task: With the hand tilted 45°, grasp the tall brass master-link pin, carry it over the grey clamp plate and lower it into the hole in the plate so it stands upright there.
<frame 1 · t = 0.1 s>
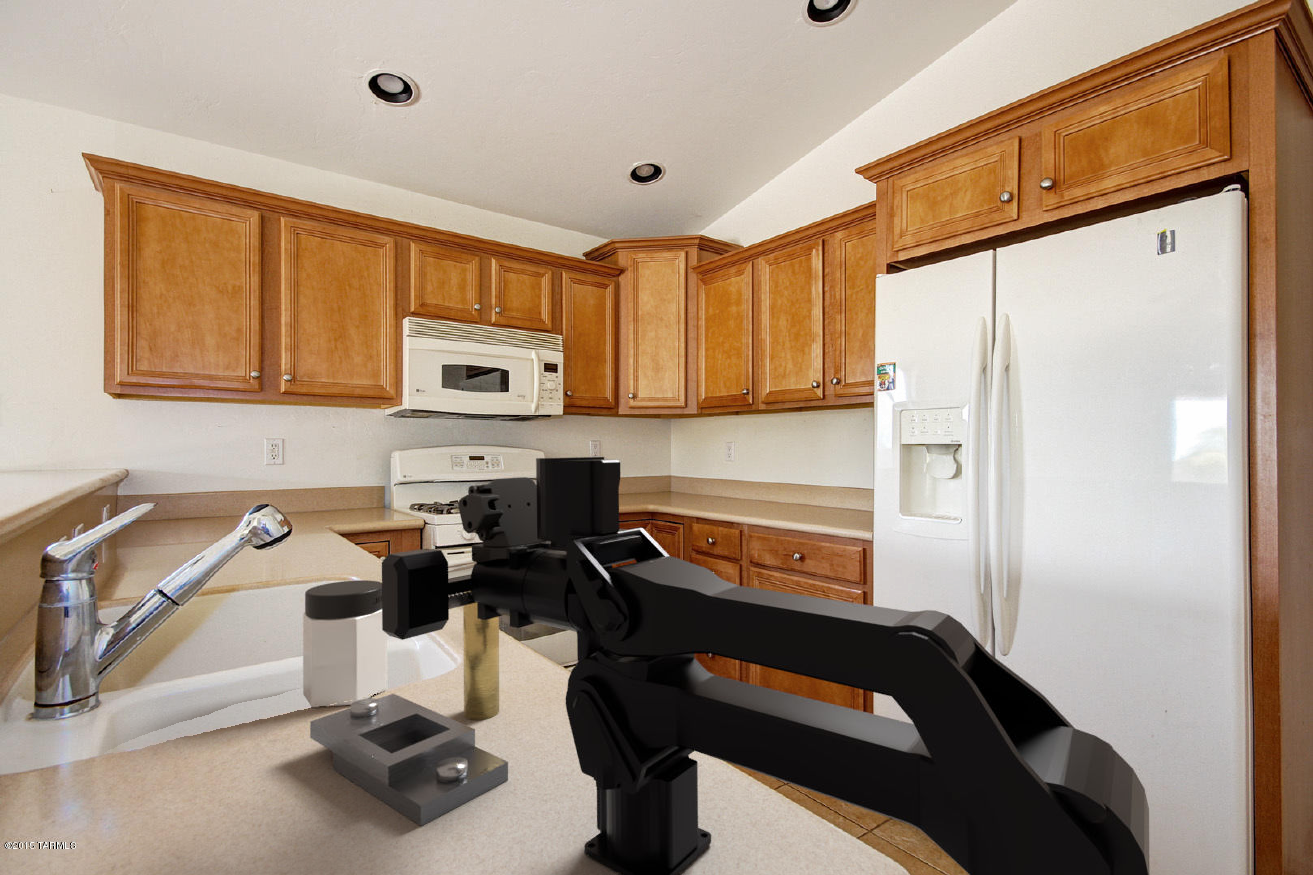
hand: (436, 567, 59), 17 cm above the counter, tool horizontal, fingers open, 9 cm apart
grey clamp plate: (404, 766, 55), on the counter
jar: (345, 694, 71), on the counter
pin: (481, 712, 66), on the counter
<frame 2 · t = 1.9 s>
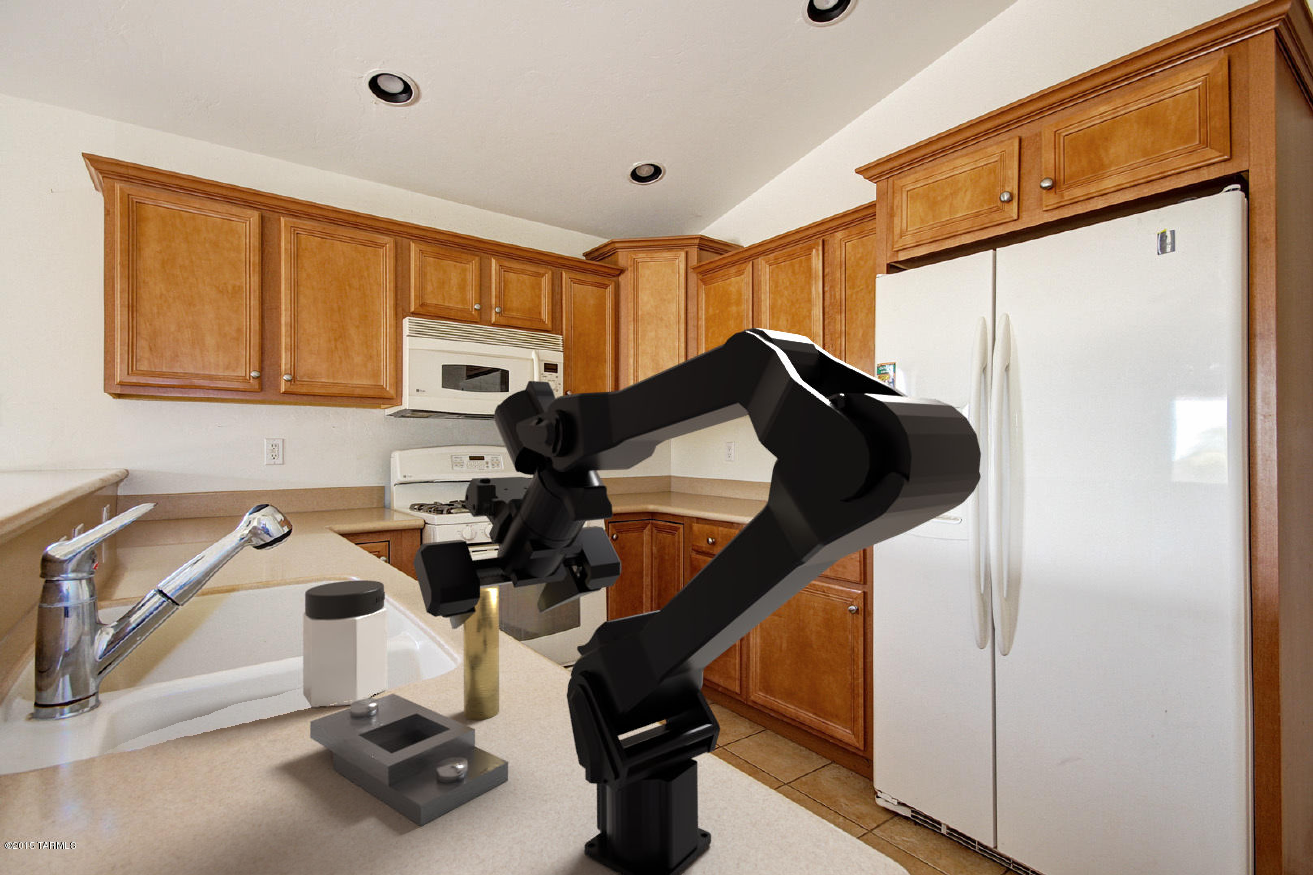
hand: (498, 616, 63), 11 cm above the counter, tool tilted 45°, fingers open, 9 cm apart
nothing on the counter moved.
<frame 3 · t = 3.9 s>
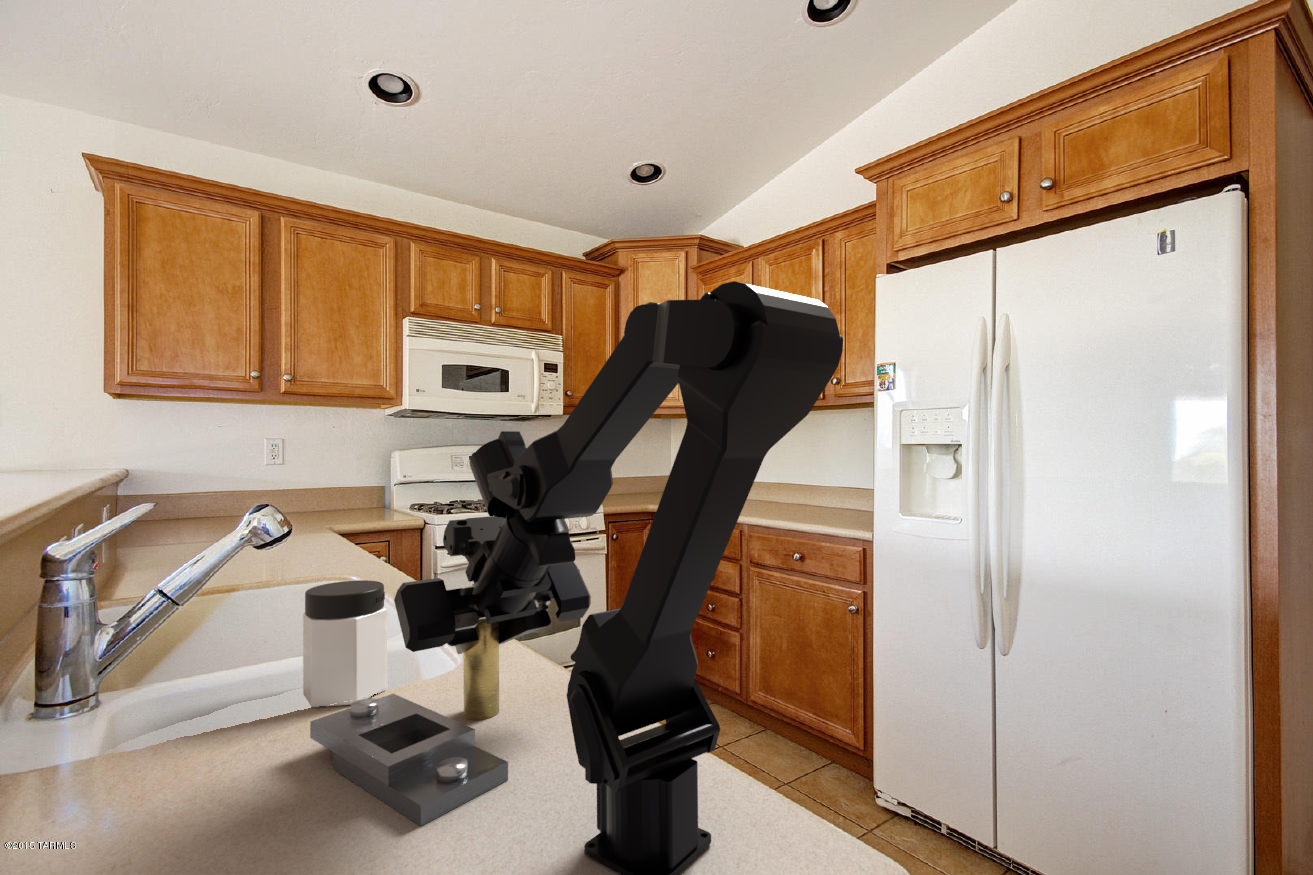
hand: (476, 645, 67), 7 cm above the counter, tool tilted 45°, fingers closed on pin, 4 cm apart
pin: (481, 712, 66), on the counter, touching gripper
everything else where it was.
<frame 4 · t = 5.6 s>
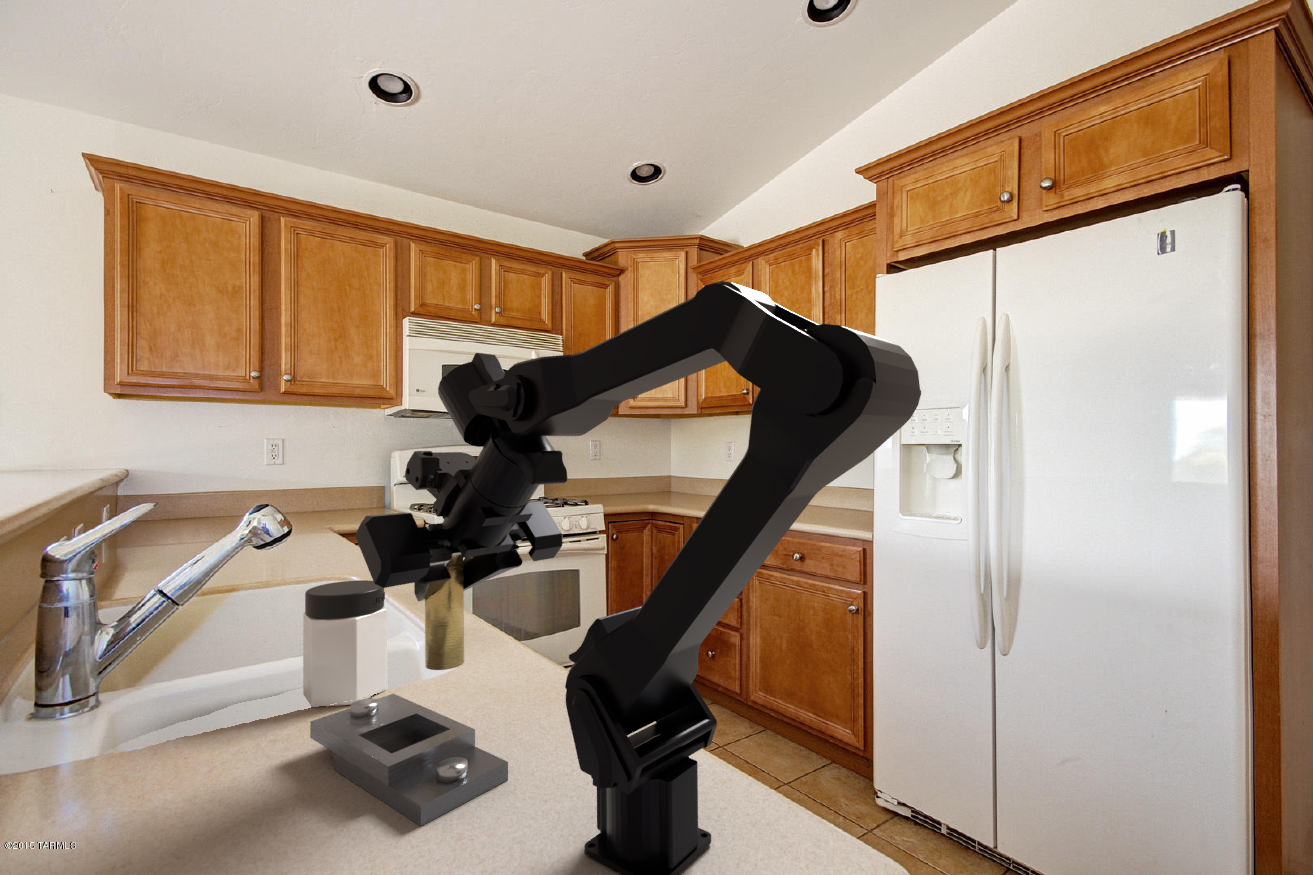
hand: (436, 593, 62), 13 cm above the counter, tool tilted 45°, fingers closed on pin, 4 cm apart
pin: (445, 663, 61), point 7 cm above the counter, touching gripper
everything else where it was.
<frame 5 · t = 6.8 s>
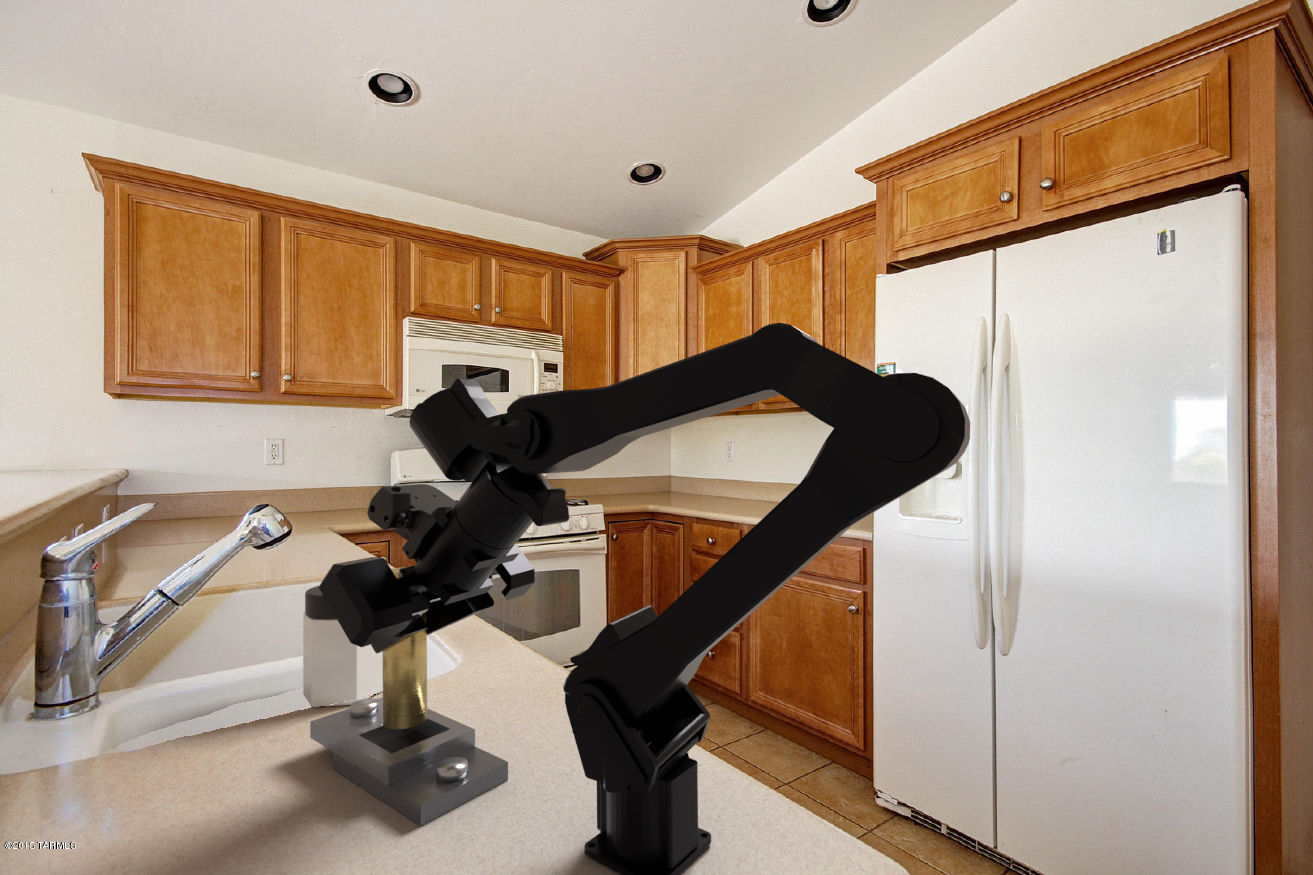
hand: (394, 642, 55), 11 cm above the counter, tool tilted 45°, fingers closed on pin, 4 cm apart
pin: (405, 719, 55), point 4 cm above the counter, touching gripper
everything else where it was.
when the fingers open (8 cm above the counter, at t = 7.6 s): pin drops 1 cm, resting in grey clamp plate.
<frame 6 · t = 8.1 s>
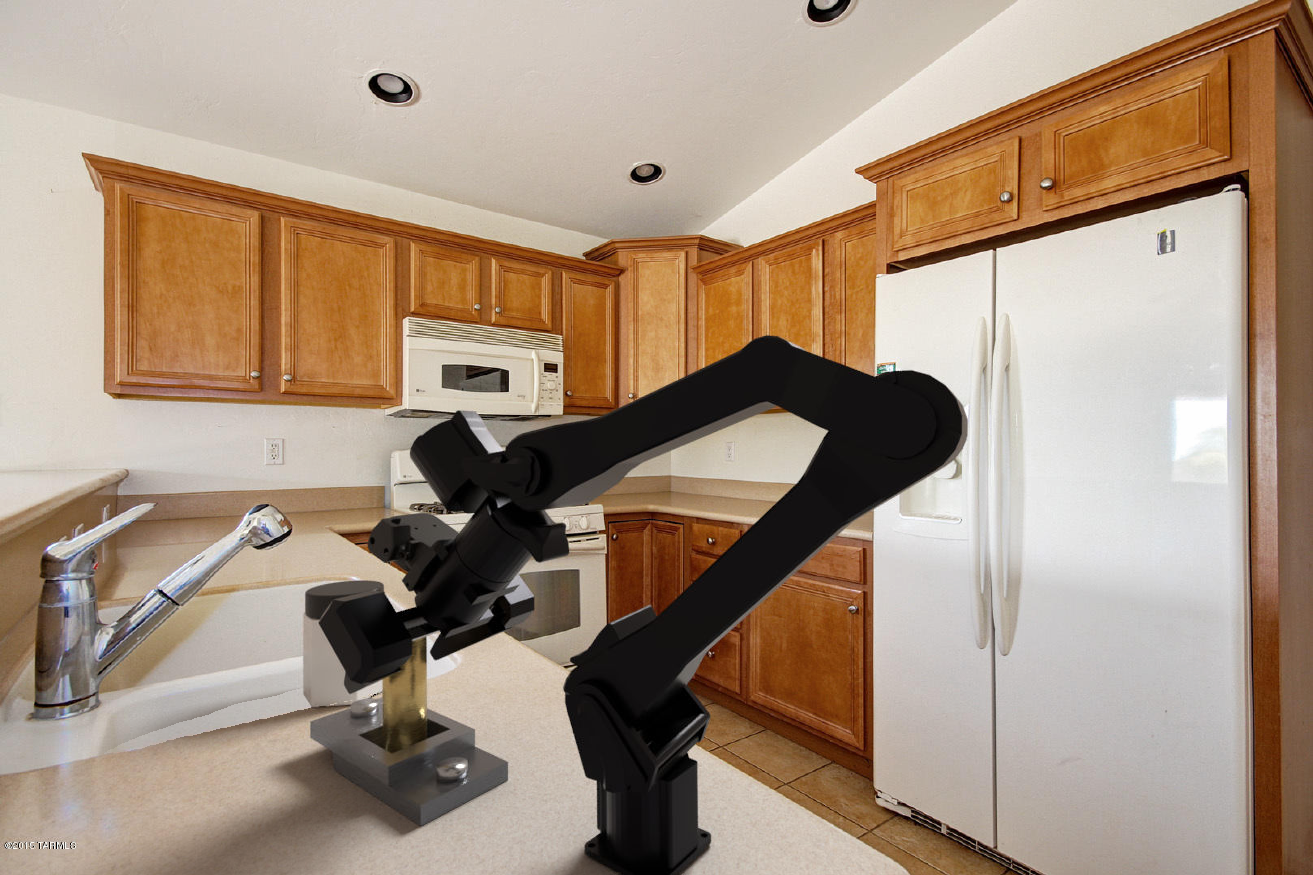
hand: (393, 671, 55), 8 cm above the counter, tool tilted 45°, fingers open, 9 cm apart
pin: (405, 766, 55), resting in grey clamp plate
everything else where it was.
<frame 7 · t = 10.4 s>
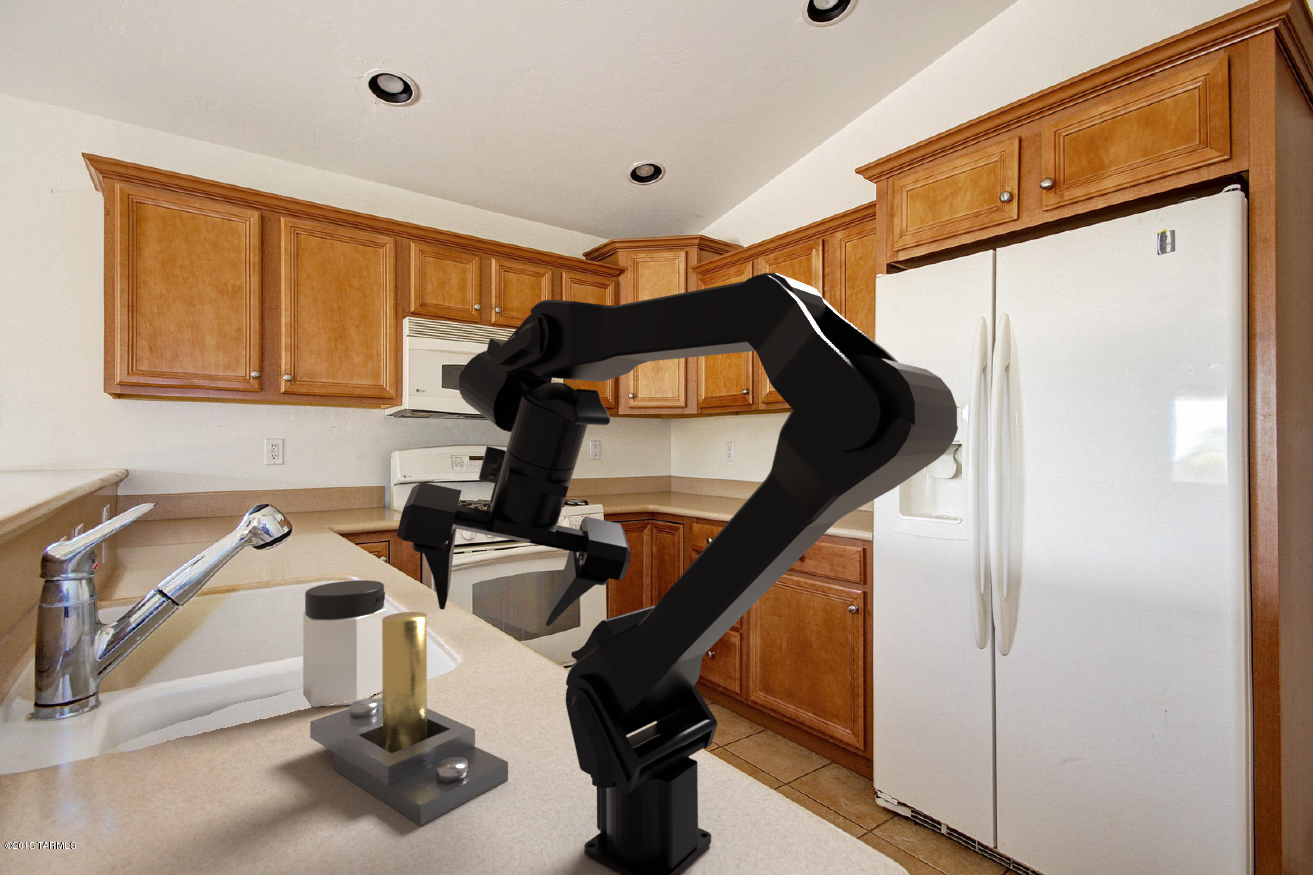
hand: (495, 615, 55), 13 cm above the counter, tool tilted 25°, fingers open, 9 cm apart
nothing on the counter moved.
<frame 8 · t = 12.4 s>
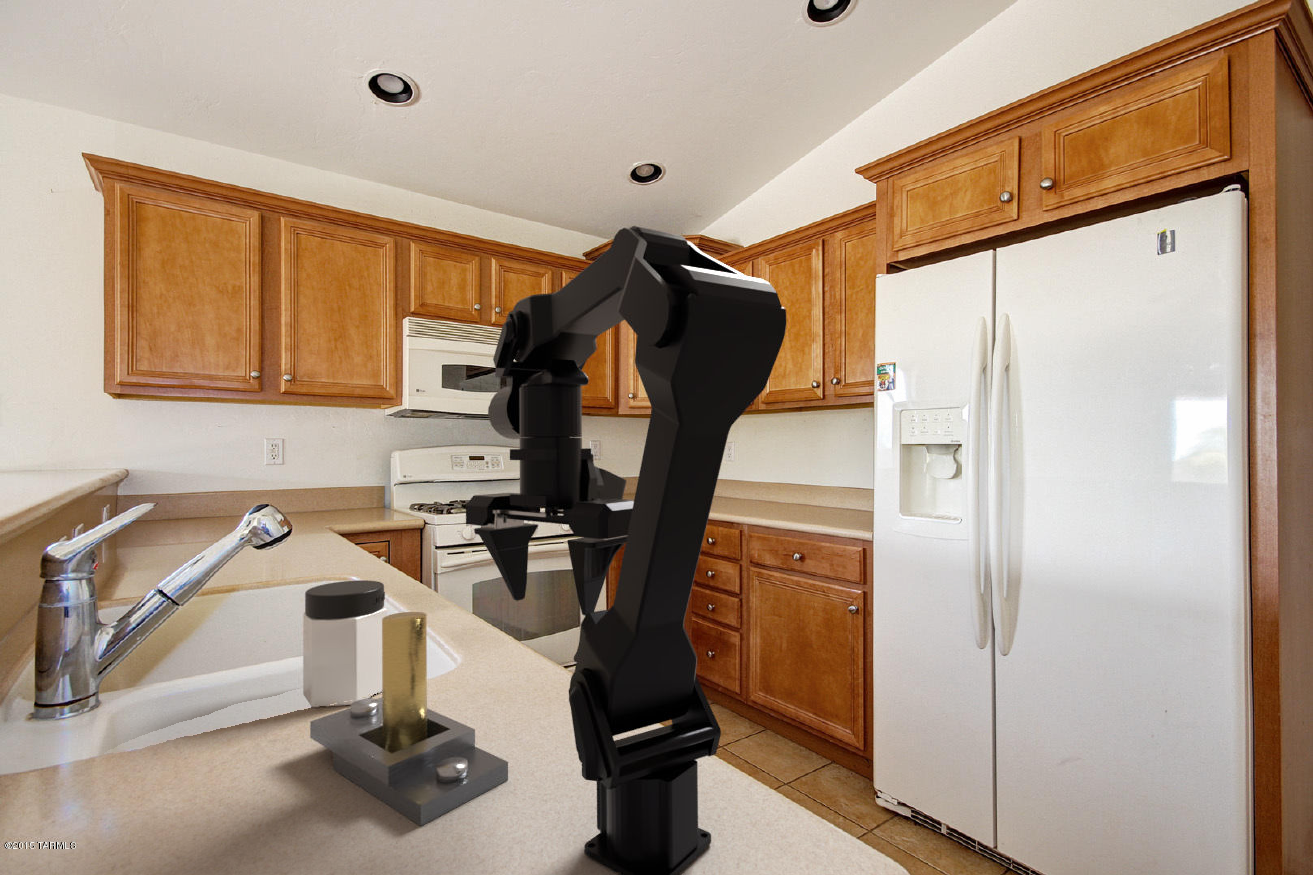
hand: (552, 606, 58), 13 cm above the counter, tool pointing down, fingers open, 9 cm apart
nothing on the counter moved.
at the end: pin 0.0 cm off-centre on the grey clamp plate, point 0.0 cm above the grey clamp plate's base; pin tilted 0°; the gripper is holding nothing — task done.
